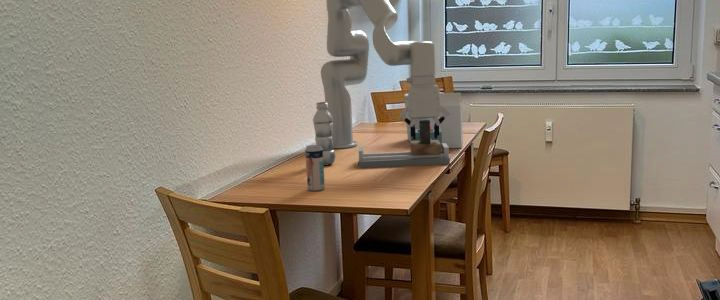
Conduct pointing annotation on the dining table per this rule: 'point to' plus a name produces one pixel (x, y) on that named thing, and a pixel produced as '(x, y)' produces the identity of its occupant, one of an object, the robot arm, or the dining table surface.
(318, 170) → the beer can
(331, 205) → the dining table surface
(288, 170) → the dining table surface
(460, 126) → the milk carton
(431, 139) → the cabinet
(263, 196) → the dining table surface
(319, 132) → the plastic bottle
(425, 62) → the robot arm
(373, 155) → the rail board
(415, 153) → the carriage
